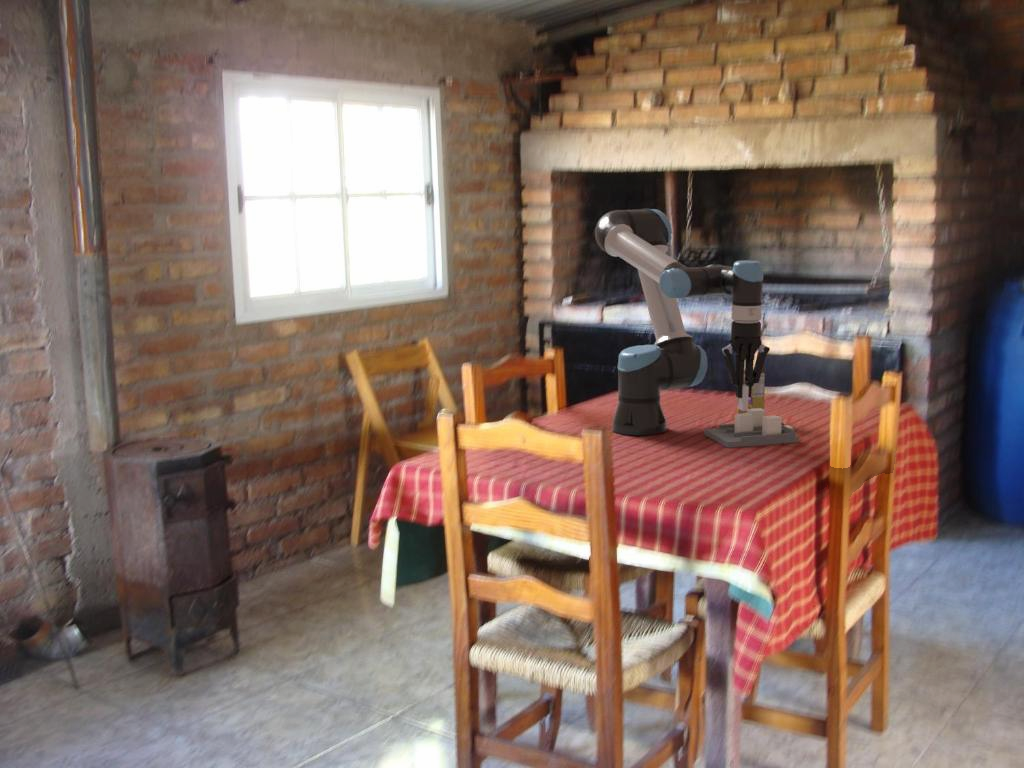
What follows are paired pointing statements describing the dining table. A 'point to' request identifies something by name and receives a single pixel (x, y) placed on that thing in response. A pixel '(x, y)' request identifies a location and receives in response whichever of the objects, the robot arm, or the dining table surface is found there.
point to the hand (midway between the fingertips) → (743, 409)
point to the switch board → (750, 436)
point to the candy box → (755, 395)
